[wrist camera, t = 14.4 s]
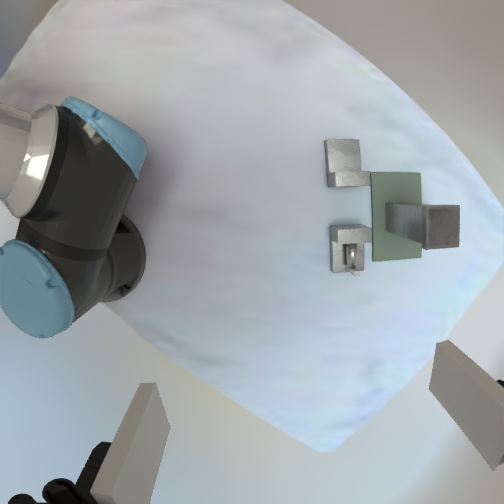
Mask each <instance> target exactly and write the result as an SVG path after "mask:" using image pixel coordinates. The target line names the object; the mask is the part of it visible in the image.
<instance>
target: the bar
mask: <svg viewBox="0 0 504 504" xmlns="http://www.w3.org/2000/svg"><path fill="white" fill-rule="evenodd" d="M385 212H386V231H387V232H389V233H392V234H395V235H398V236H401V237H404V238H406V239H409V240H412V241H415V242H417V243H420V244H422V246H421V248H423V249H426V250H428V249H440V248H452V247H459V229H460V205H429V204H421V203H413V202H395V203H385Z"/></svg>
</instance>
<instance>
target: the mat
mask: <svg viewBox="0 0 504 504" xmlns="http://www.w3.org/2000/svg"><path fill="white" fill-rule="evenodd" d="M370 177H371V196H372V229H373V262H375V261H388V260H399V259H411V258H421V252H422V248H421V246H422V244H420V243H417V242H415V241H412V240H409V239H406V238H404V237H401V236H398V235H395V234H392V233H389V232H387V231H386V212H385V203H395V202H413V203H421V204H422V197H421V174H420V173H370Z"/></svg>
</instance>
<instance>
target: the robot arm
mask: <svg viewBox="0 0 504 504" xmlns="http://www.w3.org/2000/svg"><path fill="white" fill-rule="evenodd" d="M147 152H148V150H147V144H146V142H145V140H144V139H143V138H142V137H141V136H140V135H139V134H137V133H136V132H135V131H133V130H132V129H131V128H129V127H128V126H126V125H125V124H123V123H122V122H120V121H118V120H117V119H115V118H113V117H112V116H110V115H108V114H106V113H104V112H101V111H100V110H99V109H97V108H95V107H93V106H92V105H90V104H88V103H86V102H84V101H82V100H80V99H77V98H74V97H68V98H66V99H65V101H64V102H62V103H61V105H60V107H58V106H55V105H53V104H50V103H45V104H43V105H41V106H39V107H38V108H36V109H34V110H32V111H31V112H26V111H23V110H20V109H16V108H13V107H10V106H7V105H4V104H1V103H0V199H3V200H4V201H5V203H6V205H7V207H8V209H9V210H10V212H11V214H12V215H13V216H15V217H18V218H21V219H20V222H19V226H18V230H17V234H16V238H15V239H13V240H9V241H7V242H6V243H5V244H4V245H3V246H2V247H0V305H1V308H2V310H3V311H4V313H5V314H6V316H7V317H8V318H9V320H10V321H11V322H12V323H13V324H14V325H15V326H16V327H17V328H19V329H20V330H21V331H23V332H24V333H26V334H28V335H30V336H33V337H36V338H49V337H52V336H55V335H56V334H58V333H60V332H62V331H65V330H67V329H68V328H69V327H70V326H71V325H72V323H73V322H74V321H76V320H77V319H78V318H80V317H81V316H82V315H83V314H84V313H86V312H87V311H88V310H90V309H91V308H92V307H93V306H95V305H96V304H97V303H98V302H111V301H115V300H118V299H120V298H122V297H124V296H125V295H127V294H128V293H129V292H130V291H132V290H133V289H134V288H135V287H136V285H137V284H138V283H139V281H140V279H141V277H142V275H143V272H144V268H145V259H146V258H145V248H144V244H143V241H142V238H141V236H140V234H139V232H138V230H137V228H136V227H135V226H134V224H133V223H132V222H131V221H130V220H129V219H128V218H126V217H125V216H124V215H122V214H123V211H124V209H125V207H126V204H127V202H128V200H129V197H130V195H131V193H132V191H133V188H134V186H135V184H136V182H138V180H139V177H140V176H139V173H140V171H141V169H142V166H143V164H144V161H145V159H146V157H147ZM429 390H430V391H431V392H432V393H433V395H434V396H435V397H436V398H437V400H438V401H439V402H440V403H441V405H442V406H443V407H444V408H445V409H446V411H447V412H448V413H449V414H450V416H451V417H452V418H453V419H454V421H455V422H456V423H457V425H458V426H459V427H460V428H461V430H462V431H463V432H464V433H465V435H466V436H467V437H468V439H469V440H470V441H471V442H472V444H473V445H474V446H475V448H476V449H477V450H478V452H479V453H480V454H481V455H482V457H483V458H484V459H485V461H486V462H487V463H488V465H489V466H490V467H491V469H492V470H493V471H494V472H495V471H496V470H498V469H499V468H501V467H503V466H504V381H502V380H498V381H495V380H494V379H493V378H492V377H491V376H489V374H488V373H486V372H485V371H484V370H483V369H482V368H481V367H480V366H478V365H477V364H476V363H475V362H474V361H473V360H471V359H470V358H469V357H468V356H467V355H466V354H465V353H463V352H462V351H461V350H460V349H459V348H458V347H456V346H455V345H454V344H453V343H452V342H450V341H449V340H447V341H443V342H440V343H436V350H435V356H434V363H433V369H432V375H431V380H430V385H429ZM169 430H170V424H169V422H168V419H167V416H166V413H165V410H164V407H163V404H162V401H161V397H160V394H159V391H158V388H157V384H156V383H140V385H139V387H138V389H137V391H136V393H135V396H134V398H133V400H132V401H131V404H130V406H129V408H128V410H127V412H126V414H125V416H124V418H123V420H122V422H121V424H120V427H119V429H118V431H117V433H116V435H115V437H114V439H113V442H112V443H110V442H101V443H100V444H98V445H97V446H96V447H95V448H94V449H93V450H92V453H91V455H90V456H89V460H87V462H86V464H85V467H84V468H83V470H82V472H81V474H80V476H79V478H78V480H77V482H76V484H75V485H74V483H73V482H72V481H70V480H68V479H64V478H59V479H54V480H52V481H50V482H48V483H47V484H46V485H45V486H44V489H43V491H42V496H43V498H44V499H45V500H46V502H47V503H37V502H36V501H35V500H34V499H33V498H32V496H30V495H28V494H18V495H15V496H14V497H12V498H11V499H10V500H9V502H8V504H150V500H151V496H152V492H153V489H154V485H155V481H156V477H157V473H158V470H159V466H160V462H161V459H162V455H163V451H164V448H165V445H166V441H167V437H168V434H169Z"/></svg>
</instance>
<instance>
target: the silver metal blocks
mask: <svg viewBox="0 0 504 504" xmlns="http://www.w3.org/2000/svg"><path fill="white" fill-rule="evenodd" d="M325 150H326V163H327V178H328V187H331V186H369V185H370V177H369V171H361V160H360V147H359V140H326V141H325ZM366 242H372V229H371V228H370V227H367V226H364V225H361V224H357V225H339V226H330V243H331V271H332V272H333V273H339V272H351V273H352V274H353V275H354V276H359V271H363V270H364V243H366Z"/></svg>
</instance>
